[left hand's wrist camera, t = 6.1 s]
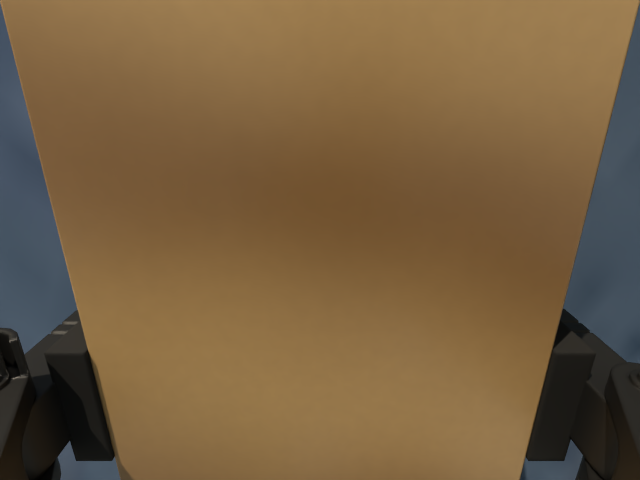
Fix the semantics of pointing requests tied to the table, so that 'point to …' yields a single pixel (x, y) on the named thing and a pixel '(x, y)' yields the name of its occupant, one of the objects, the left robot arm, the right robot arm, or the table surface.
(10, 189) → the table surface
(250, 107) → the thick board
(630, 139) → the table surface
